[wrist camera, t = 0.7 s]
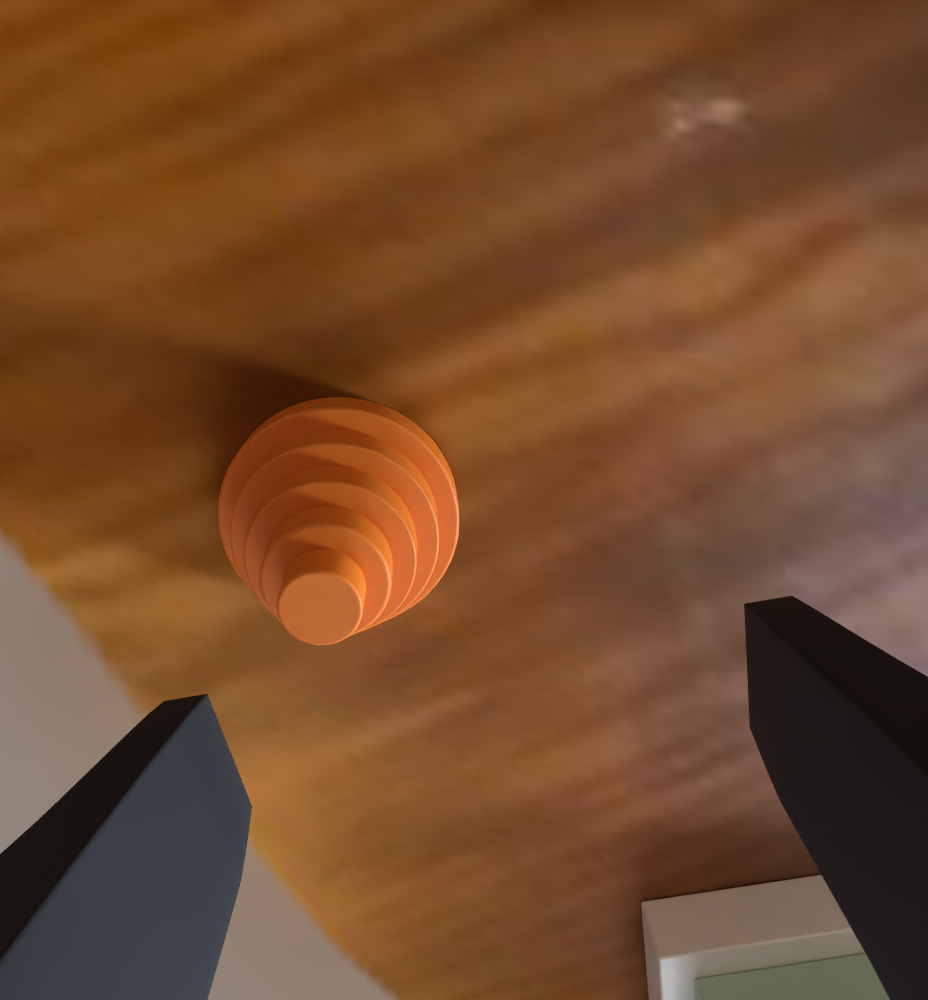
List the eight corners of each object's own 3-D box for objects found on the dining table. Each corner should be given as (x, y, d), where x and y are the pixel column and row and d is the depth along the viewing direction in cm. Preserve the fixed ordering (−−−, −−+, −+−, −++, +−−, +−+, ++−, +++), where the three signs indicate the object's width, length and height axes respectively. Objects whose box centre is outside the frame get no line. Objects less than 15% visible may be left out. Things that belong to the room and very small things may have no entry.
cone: (257, 623, 20) (209, 753, 16) (199, 415, 18) (125, 493, 14) (472, 591, 20) (488, 710, 16) (438, 379, 18) (446, 444, 14)
